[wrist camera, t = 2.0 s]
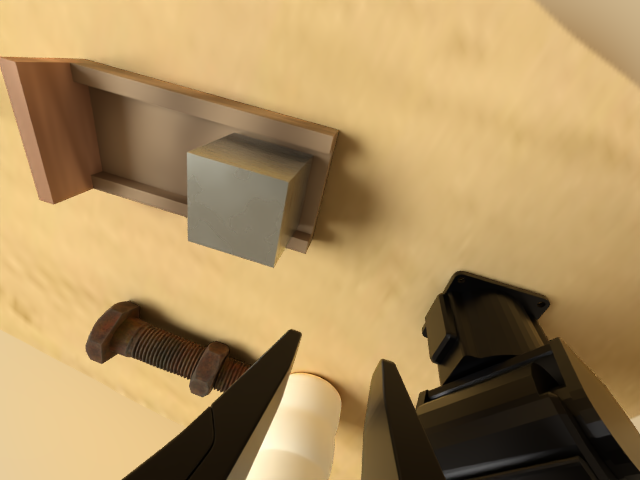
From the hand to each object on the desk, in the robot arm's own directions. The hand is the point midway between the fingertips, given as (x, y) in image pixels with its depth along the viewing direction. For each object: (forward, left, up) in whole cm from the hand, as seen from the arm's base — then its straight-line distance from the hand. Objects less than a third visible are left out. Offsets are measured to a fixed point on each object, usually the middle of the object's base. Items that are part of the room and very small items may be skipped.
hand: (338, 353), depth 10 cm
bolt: (+12, +20, -13) cm, 27 cm away
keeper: (+6, 0, -11) cm, 13 cm away
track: (+11, 0, -12) cm, 17 cm away
